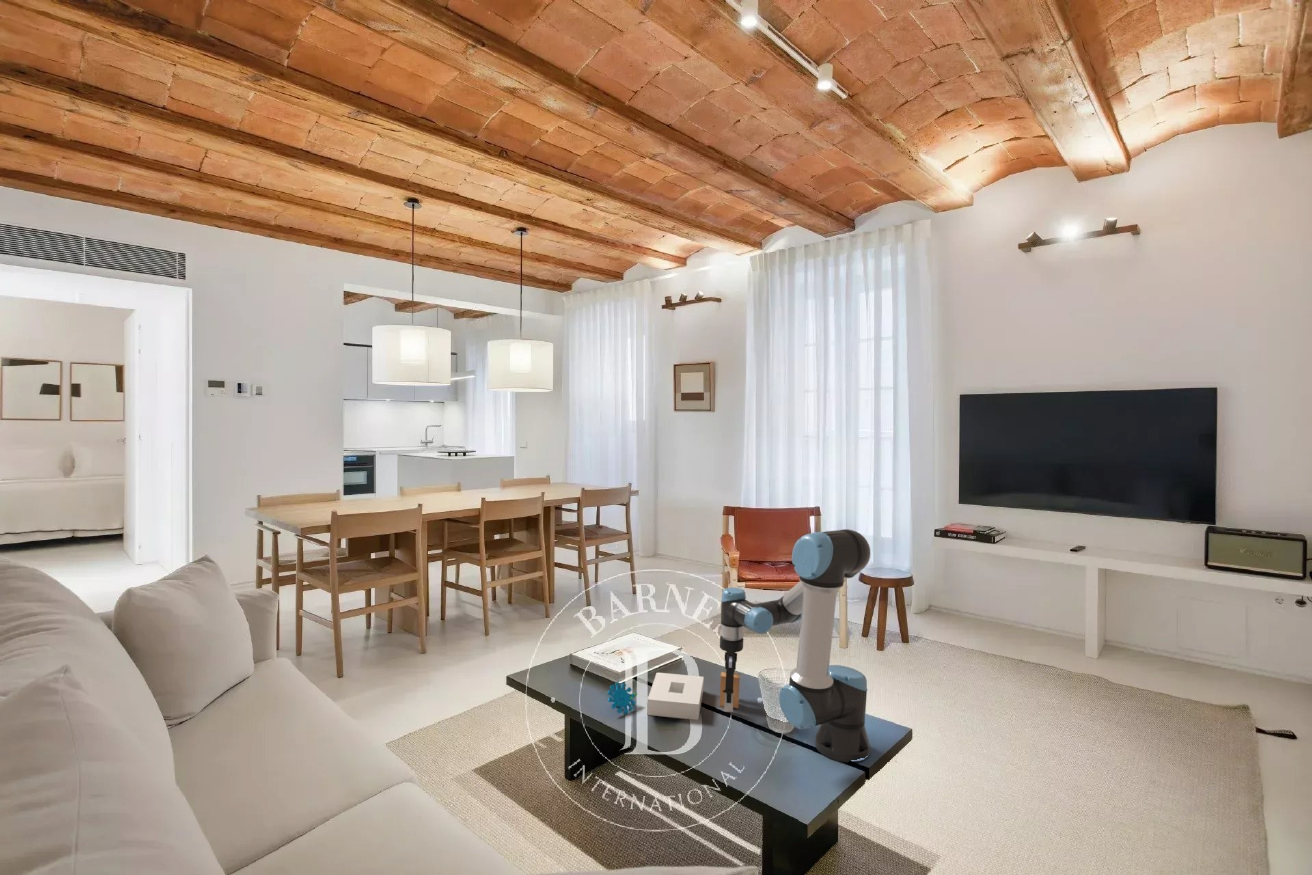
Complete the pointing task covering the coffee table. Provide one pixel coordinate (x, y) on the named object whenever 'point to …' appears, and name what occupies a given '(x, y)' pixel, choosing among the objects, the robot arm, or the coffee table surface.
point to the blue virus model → (621, 697)
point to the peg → (735, 688)
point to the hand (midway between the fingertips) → (728, 703)
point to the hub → (675, 696)
